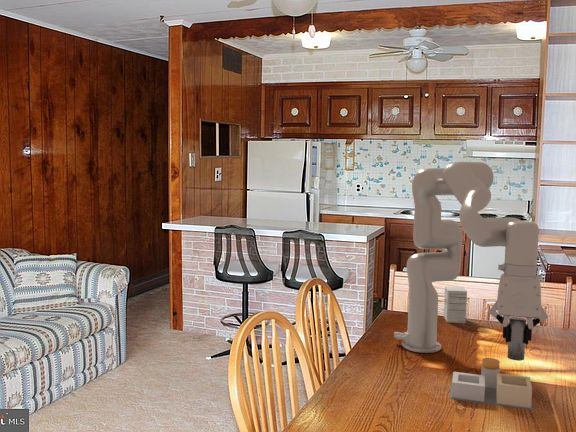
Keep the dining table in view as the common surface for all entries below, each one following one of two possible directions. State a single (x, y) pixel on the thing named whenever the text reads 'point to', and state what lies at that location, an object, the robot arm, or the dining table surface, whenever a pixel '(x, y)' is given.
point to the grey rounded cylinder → (516, 338)
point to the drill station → (492, 388)
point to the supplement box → (455, 304)
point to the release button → (490, 363)
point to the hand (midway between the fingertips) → (516, 341)
